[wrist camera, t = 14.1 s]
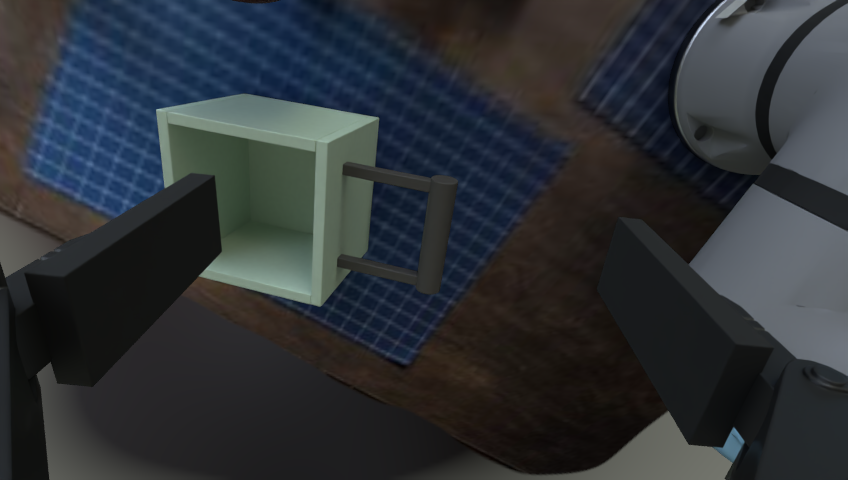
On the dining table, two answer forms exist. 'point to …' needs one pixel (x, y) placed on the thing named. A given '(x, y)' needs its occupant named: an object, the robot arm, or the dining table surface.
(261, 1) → the coffee cup
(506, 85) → the dining table surface
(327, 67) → the dining table surface
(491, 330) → the dining table surface
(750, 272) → the robot arm
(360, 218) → the pale green square box
